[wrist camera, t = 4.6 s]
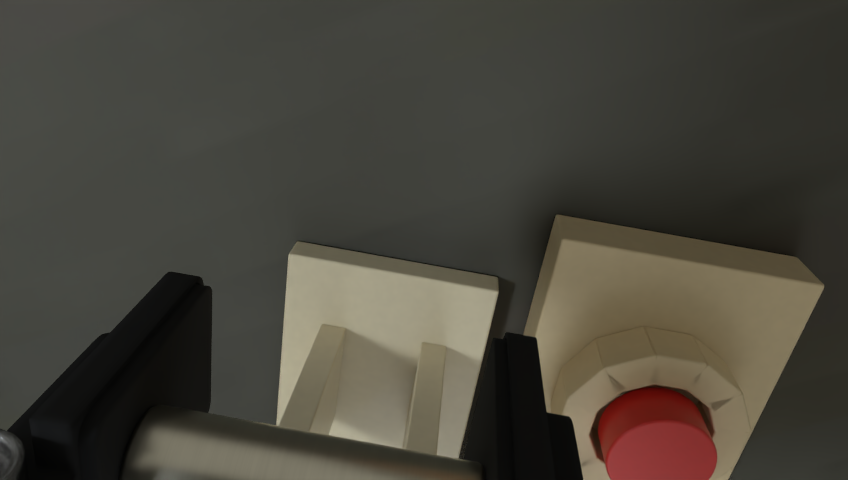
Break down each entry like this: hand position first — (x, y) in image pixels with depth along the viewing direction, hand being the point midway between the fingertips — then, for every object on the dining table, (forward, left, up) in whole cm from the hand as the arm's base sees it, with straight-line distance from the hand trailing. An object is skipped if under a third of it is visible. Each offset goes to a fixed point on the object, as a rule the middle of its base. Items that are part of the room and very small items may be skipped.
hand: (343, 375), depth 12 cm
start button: (+7, +10, -9) cm, 15 cm away
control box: (+7, +10, -13) cm, 18 cm away
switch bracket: (+9, 0, -13) cm, 16 cm away
